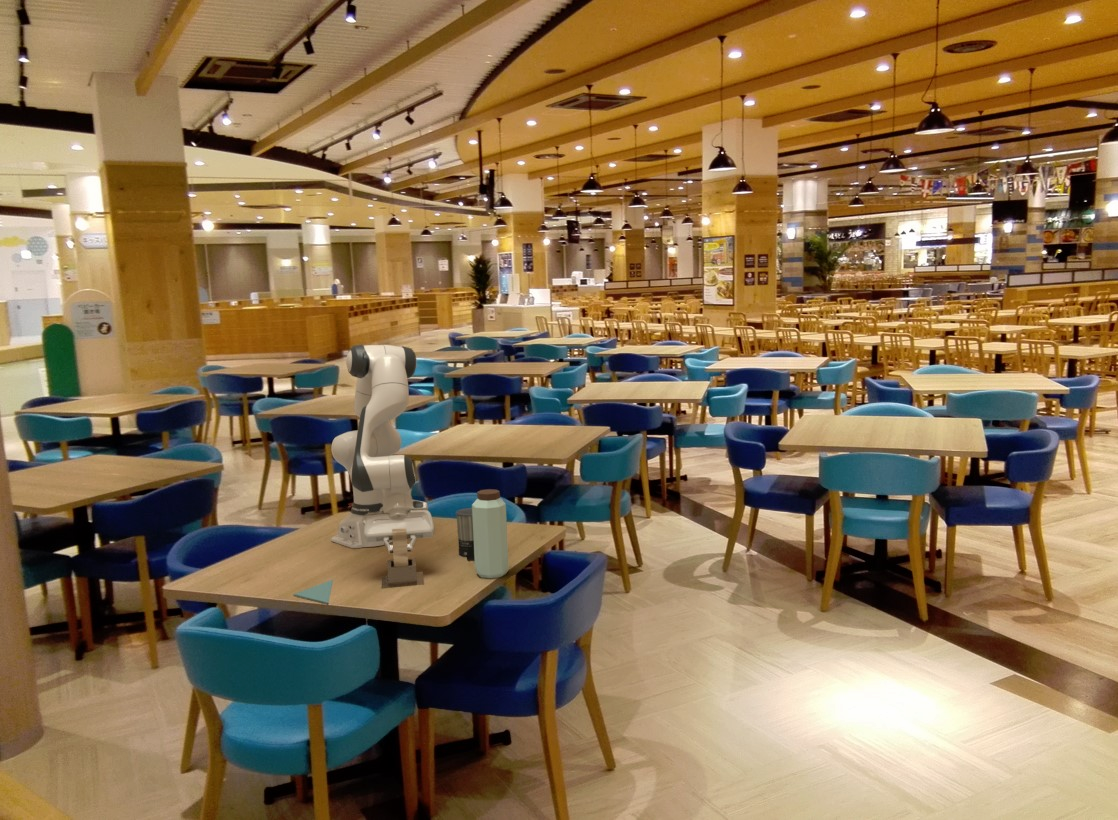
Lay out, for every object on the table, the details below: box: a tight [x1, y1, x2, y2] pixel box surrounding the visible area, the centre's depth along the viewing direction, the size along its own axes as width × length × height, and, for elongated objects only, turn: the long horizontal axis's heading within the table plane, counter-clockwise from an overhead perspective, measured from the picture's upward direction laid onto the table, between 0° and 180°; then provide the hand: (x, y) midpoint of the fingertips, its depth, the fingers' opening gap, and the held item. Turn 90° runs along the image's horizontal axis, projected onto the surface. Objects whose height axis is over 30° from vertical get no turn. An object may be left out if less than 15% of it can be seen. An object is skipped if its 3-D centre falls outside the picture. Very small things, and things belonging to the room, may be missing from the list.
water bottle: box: [471, 488, 510, 579], centre depth 257 cm, size 10×10×25 cm
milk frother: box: [455, 507, 475, 561], centre depth 279 cm, size 14×16×15 cm
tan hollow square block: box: [380, 557, 425, 589], centre depth 252 cm, size 12×12×6 cm
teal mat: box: [293, 579, 334, 605], centre depth 247 cm, size 16×16×1 cm
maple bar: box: [392, 528, 409, 567], centre depth 252 cm, size 4×4×14 cm
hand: (400, 551), depth 251 cm, fingers closed on maple bar, 4 cm apart
